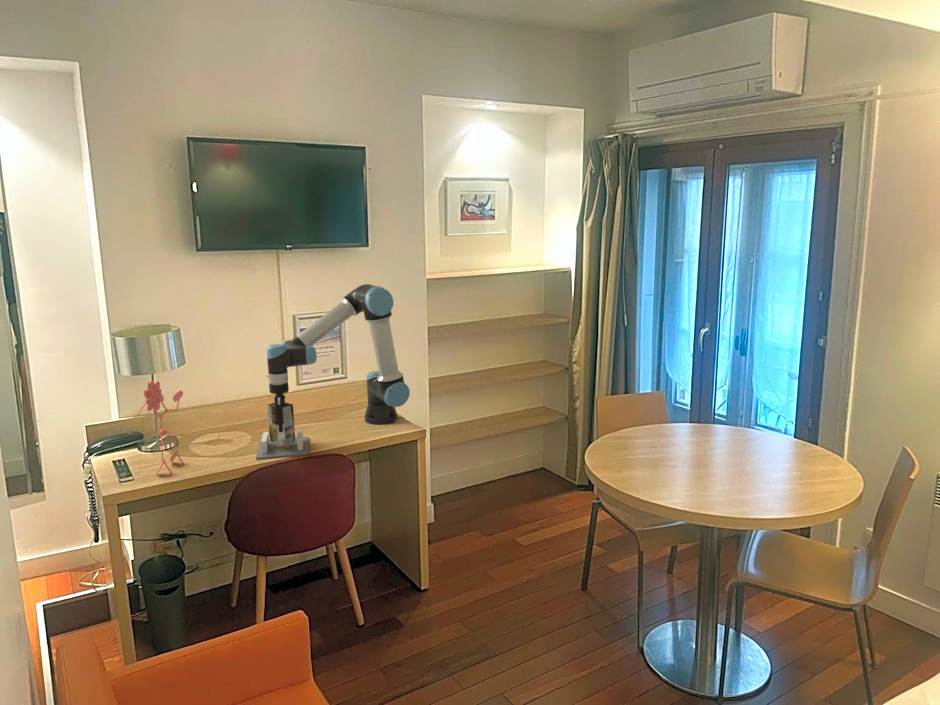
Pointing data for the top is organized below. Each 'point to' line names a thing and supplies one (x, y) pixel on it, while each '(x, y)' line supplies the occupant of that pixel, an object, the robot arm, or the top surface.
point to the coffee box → (288, 424)
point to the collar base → (282, 447)
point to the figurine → (153, 402)
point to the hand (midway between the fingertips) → (282, 434)
